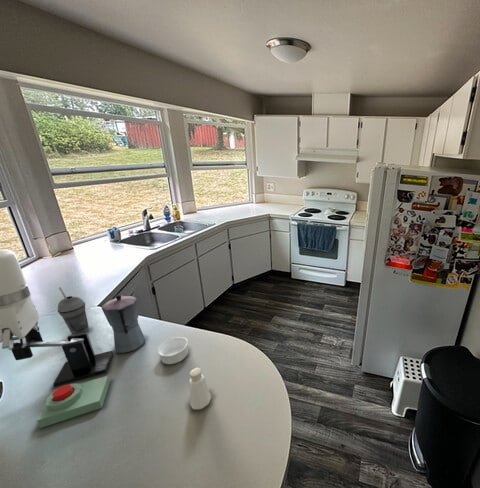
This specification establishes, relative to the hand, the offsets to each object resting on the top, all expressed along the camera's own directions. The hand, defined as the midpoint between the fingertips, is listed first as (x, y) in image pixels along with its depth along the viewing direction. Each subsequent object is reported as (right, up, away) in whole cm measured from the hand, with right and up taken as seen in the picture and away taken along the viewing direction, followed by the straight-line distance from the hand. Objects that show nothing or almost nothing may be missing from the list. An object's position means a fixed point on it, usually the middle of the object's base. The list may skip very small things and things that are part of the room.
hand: (30, 350), depth 71 cm
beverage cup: (-8, -3, +23) cm, 25 cm away
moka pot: (+15, -6, +18) cm, 25 cm away
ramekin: (+33, -8, +14) cm, 37 cm away
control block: (+16, -14, -3) cm, 21 cm away
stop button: (+15, -10, -5) cm, 18 cm away
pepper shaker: (+50, -14, -1) cm, 52 cm away
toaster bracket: (+8, -9, +8) cm, 15 cm away
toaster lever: (+4, 0, +3) cm, 5 cm away
